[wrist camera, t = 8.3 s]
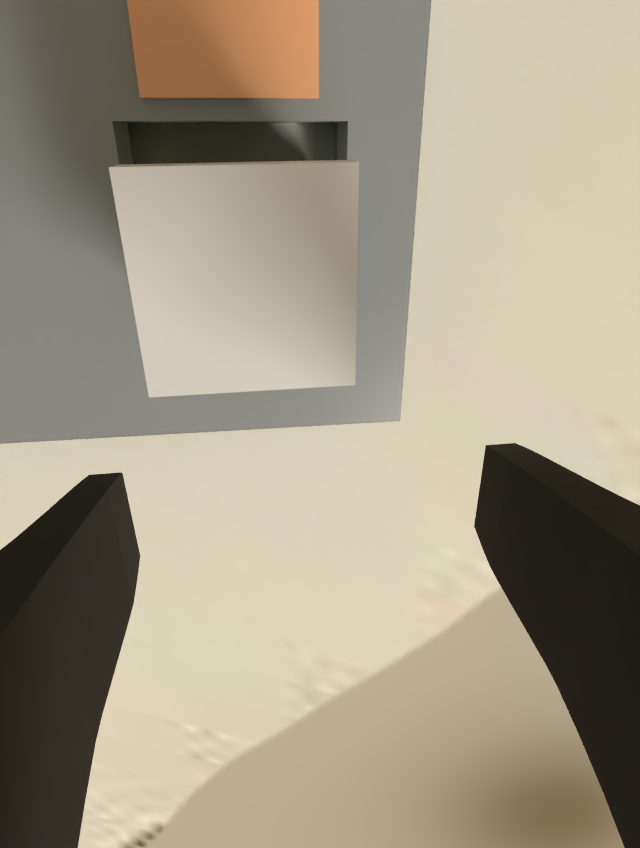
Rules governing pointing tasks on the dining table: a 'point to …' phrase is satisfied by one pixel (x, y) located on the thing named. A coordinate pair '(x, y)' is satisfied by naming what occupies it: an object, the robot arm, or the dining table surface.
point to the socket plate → (110, 145)
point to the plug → (241, 273)
